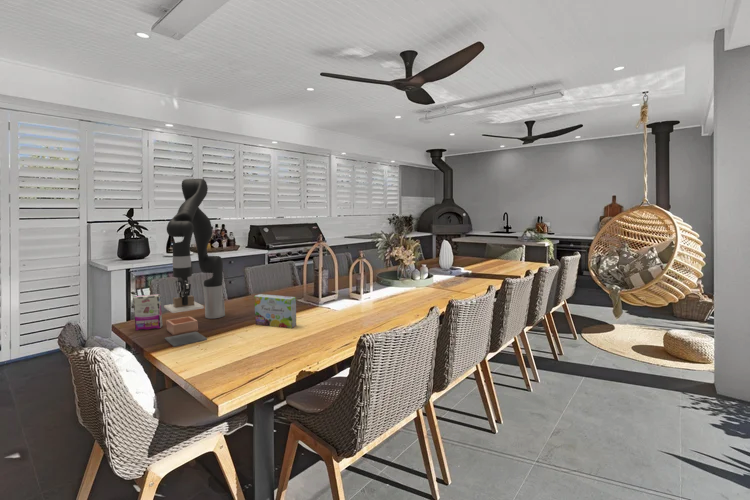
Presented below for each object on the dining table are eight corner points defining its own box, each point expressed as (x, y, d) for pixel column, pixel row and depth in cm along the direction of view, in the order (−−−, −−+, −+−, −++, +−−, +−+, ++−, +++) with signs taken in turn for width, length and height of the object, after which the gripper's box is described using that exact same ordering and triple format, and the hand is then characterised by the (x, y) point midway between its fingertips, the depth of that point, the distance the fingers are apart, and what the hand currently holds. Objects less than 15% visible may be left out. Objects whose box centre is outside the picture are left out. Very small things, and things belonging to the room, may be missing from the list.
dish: (190, 325, 206) (190, 316, 206) (198, 330, 198) (197, 320, 198) (166, 330, 199) (166, 320, 199) (173, 335, 191) (173, 325, 190)
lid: (194, 303, 193) (193, 292, 192) (203, 308, 183) (203, 297, 183) (164, 307, 184) (163, 296, 184) (172, 313, 175) (172, 301, 174)
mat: (196, 332, 195) (196, 331, 195) (207, 339, 185) (207, 338, 185) (164, 339, 186) (164, 337, 186) (174, 346, 176) (173, 345, 176)
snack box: (254, 325, 208) (253, 295, 207) (261, 322, 213) (260, 293, 212) (291, 329, 201) (290, 298, 200) (297, 325, 207) (296, 296, 205)
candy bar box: (162, 326, 206) (161, 293, 205) (160, 328, 202) (158, 296, 200) (137, 327, 203) (135, 295, 202) (135, 330, 199) (132, 297, 197)
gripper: (196, 266, 179) (197, 305, 181) (185, 263, 190) (187, 300, 191) (177, 268, 174) (179, 308, 176) (168, 265, 185) (170, 302, 187)
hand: (183, 304), depth 184 cm, fingers closed on lid, 3 cm apart
